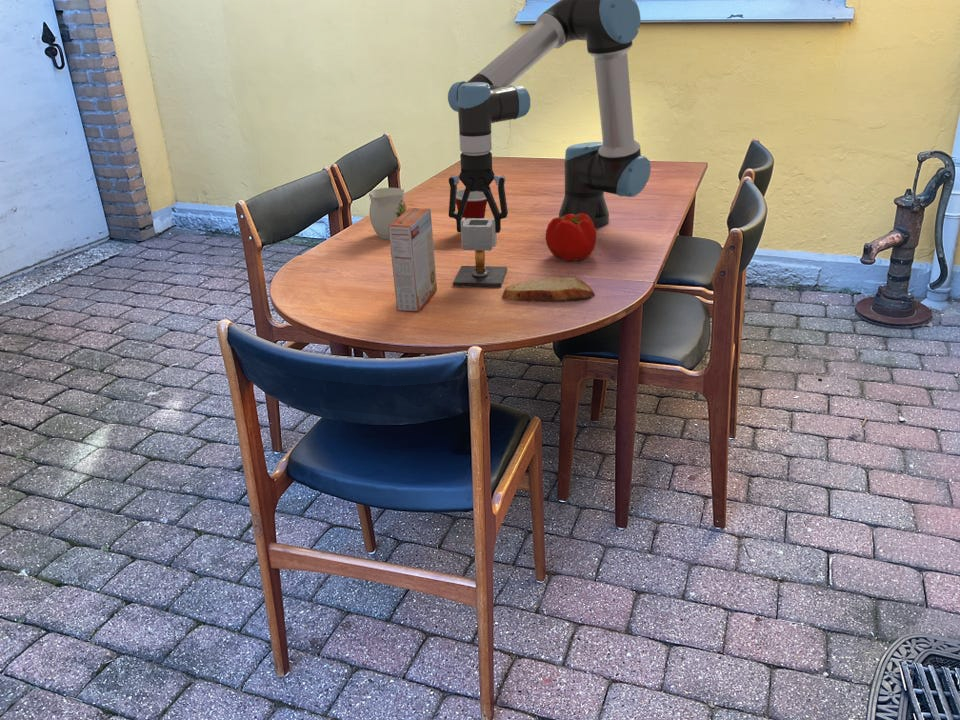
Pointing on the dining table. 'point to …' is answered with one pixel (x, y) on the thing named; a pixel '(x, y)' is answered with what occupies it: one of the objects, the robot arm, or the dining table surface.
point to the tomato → (571, 236)
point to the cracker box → (413, 259)
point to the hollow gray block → (477, 234)
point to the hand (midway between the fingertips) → (479, 244)
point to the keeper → (480, 274)
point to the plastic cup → (472, 204)
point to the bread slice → (549, 290)
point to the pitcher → (386, 209)
